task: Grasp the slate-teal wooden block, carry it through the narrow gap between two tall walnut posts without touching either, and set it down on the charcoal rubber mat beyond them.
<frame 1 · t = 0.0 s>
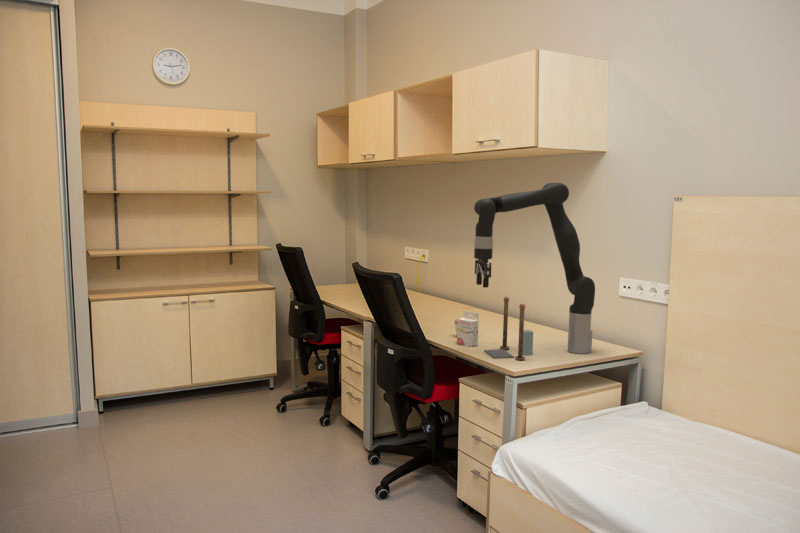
hand: (482, 286, 251), 29 cm above the table, fingers open, 8 cm apart
mat: (498, 354, 255), on the table
lidded jar: (465, 337, 288), on the table
post 2: (520, 359, 247), on the table
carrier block: (525, 353, 257), on the table
ink cartridge box: (467, 345, 272), on the table
post 1: (504, 349, 265), on the table
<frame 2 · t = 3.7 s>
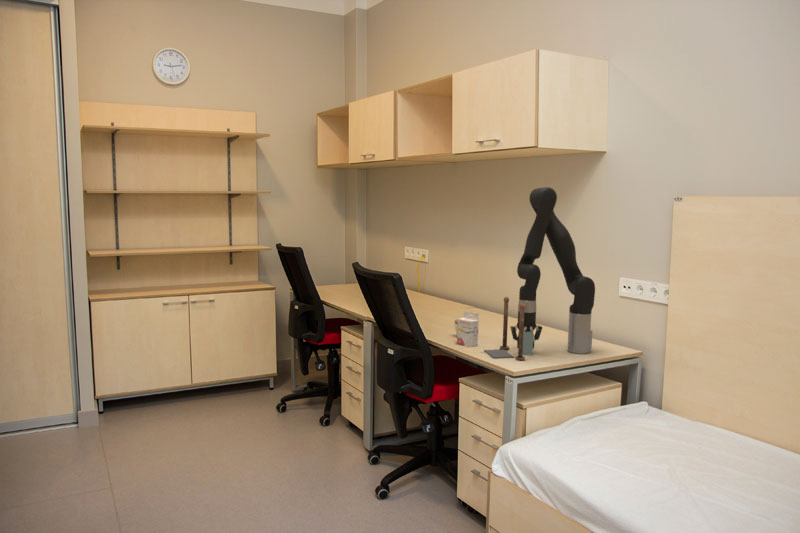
hand: (525, 349, 257), 2 cm above the table, fingers closed on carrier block, 4 cm apart
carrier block: (525, 353, 257), on the table, touching gripper
everything else where it was.
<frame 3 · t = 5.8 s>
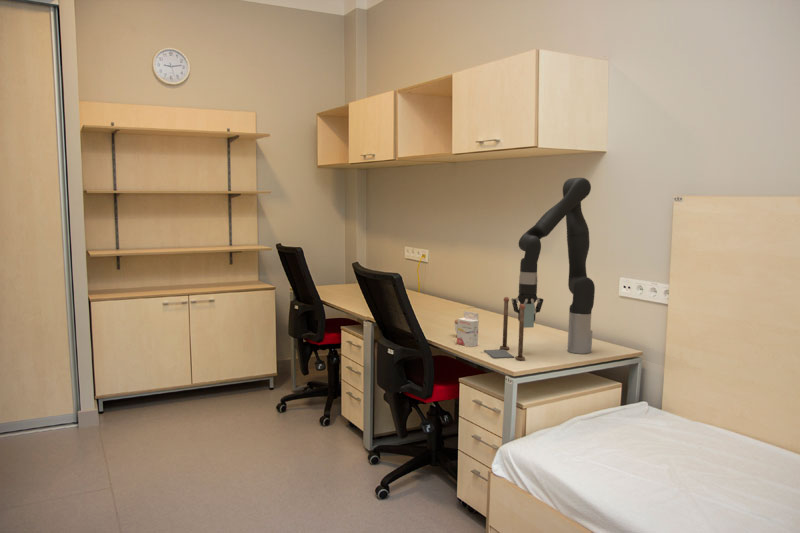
hand: (526, 322, 256), 14 cm above the table, fingers closed on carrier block, 4 cm apart
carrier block: (526, 326, 256), point 12 cm above the table, touching gripper
everything else where it was.
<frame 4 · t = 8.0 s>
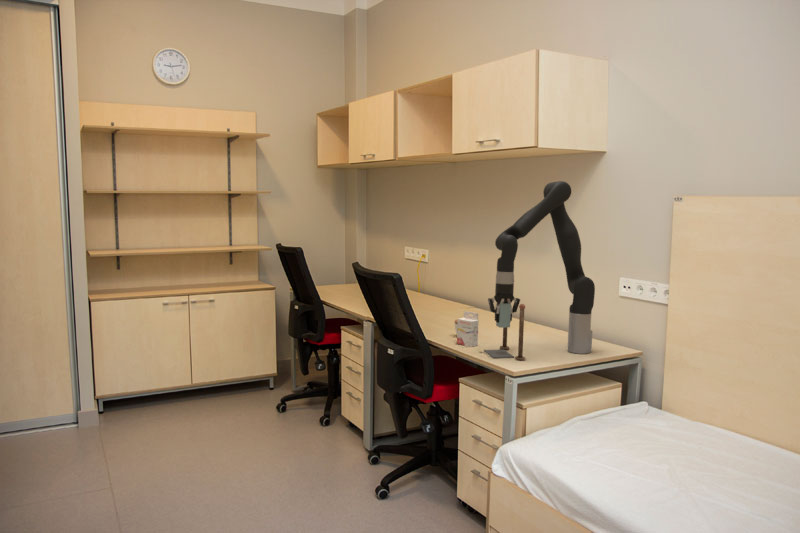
hand: (503, 322, 254), 14 cm above the table, fingers closed on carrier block, 4 cm apart
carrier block: (503, 326, 254), point 12 cm above the table, touching gripper
everything else where it was.
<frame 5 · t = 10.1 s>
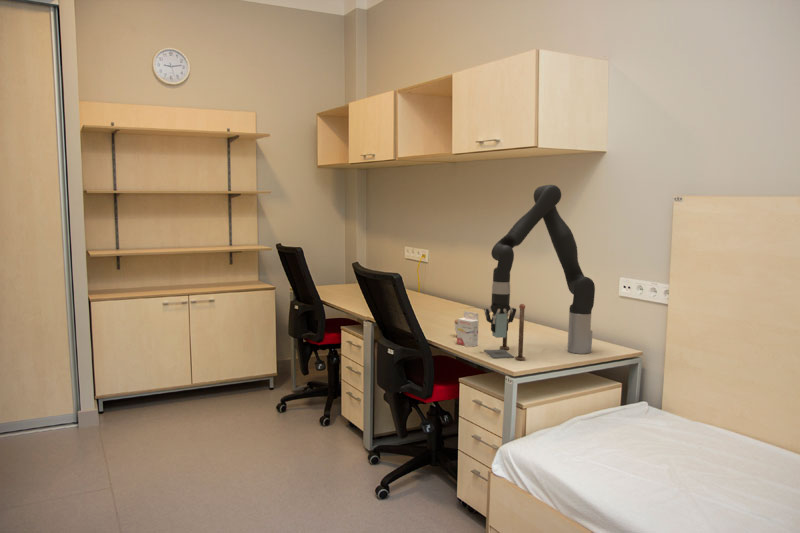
hand: (499, 332, 254), 10 cm above the table, fingers closed on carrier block, 4 cm apart
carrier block: (499, 336, 254), point 8 cm above the table, touching gripper
everything else where it was.
when the fingers open (4 cm above the table, at t = 12.2 s): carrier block drops 1 cm, resting on mat.
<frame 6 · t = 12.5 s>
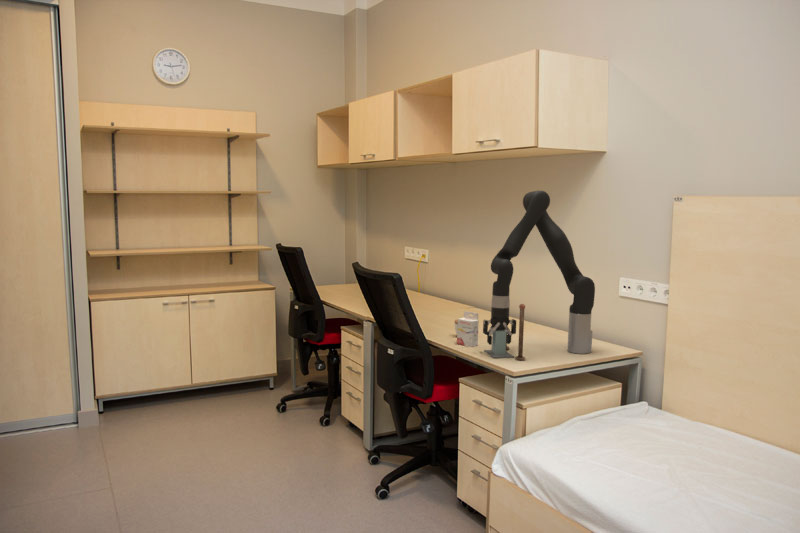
hand: (499, 344, 254), 5 cm above the table, fingers open, 7 cm apart
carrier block: (498, 353, 255), point 1 cm above the table, touching mat
everything else where it was.
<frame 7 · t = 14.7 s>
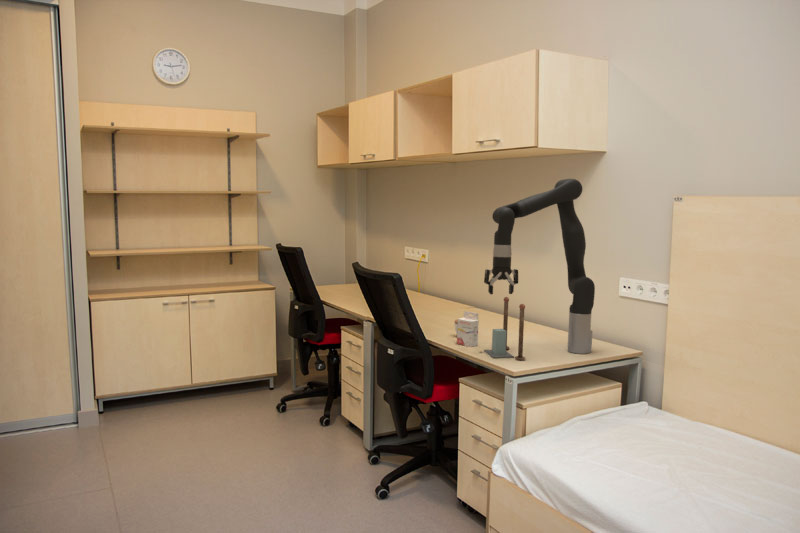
hand: (500, 294, 252), 26 cm above the table, fingers open, 8 cm apart
nothing on the table moved.
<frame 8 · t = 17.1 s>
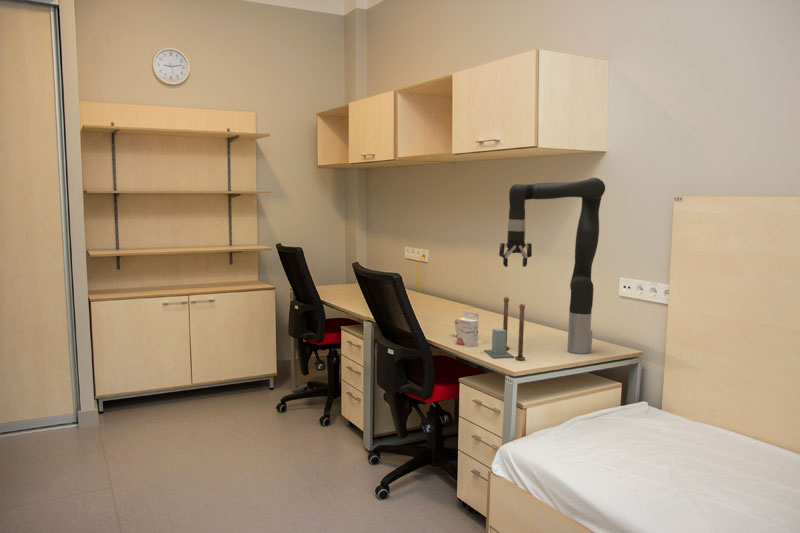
hand: (515, 266, 266), 36 cm above the table, fingers open, 8 cm apart
nothing on the table moved.
at the end: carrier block 0.0 cm off-centre on the mat, point 0.6 cm above the mat's base; post 2 moved 0.0 cm from its start; post 1 moved 0.0 cm from its start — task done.
